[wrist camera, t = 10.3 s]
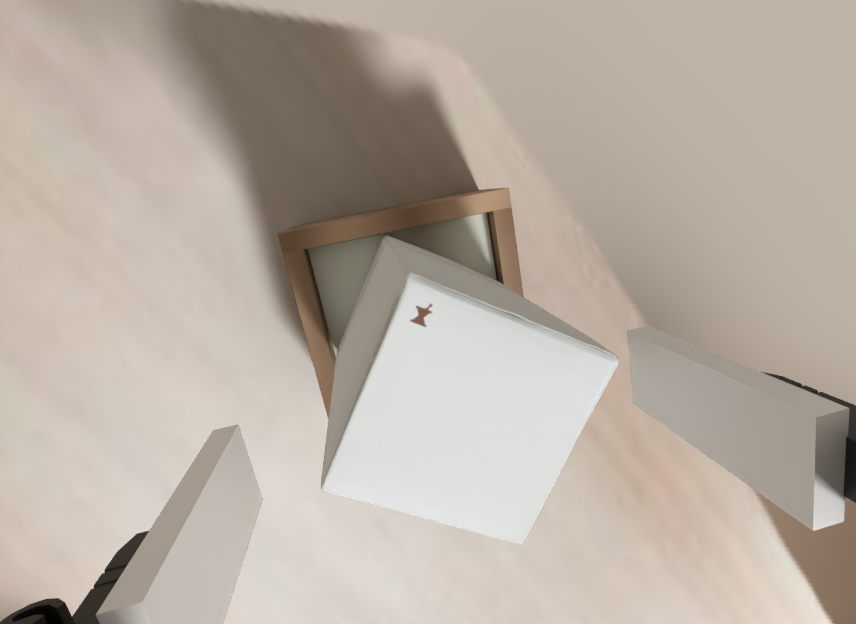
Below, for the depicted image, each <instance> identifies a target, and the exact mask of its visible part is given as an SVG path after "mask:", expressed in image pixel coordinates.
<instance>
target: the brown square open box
mask: <svg viewBox="0 0 856 624" xmlns="http://www.w3.org/2000/svg"><path fill="white" fill-rule="evenodd" d="M385 234H387V235H390V236H392V237H394V238H397V239H400V240H402V241H405V242H407V243H410V244H412V245H415V246H417V247H420V248H422V249H425V250H427V251H430V252H432V253H435V254H437V255H440V256H442V257H445V258H447V259H449V260H452V261H454V262H456V263H459V264H461V265H463V266H466V267H468V268H470V269H472V270H475V271H477V272H479V273H481V274H483V275H485V276H488V277H490V278H492V279H494V280H496V281H498V282H500V283H502V284H503V285H505V286H506V287H508V288H509V289H511V290H512V291H514V292H515V293H517V294H519V295H520V296H522V297H523V289H522V282H521V274H520V267H519V260H518V252H517V245H516V238H515V230H514V223H513V216H512V208H511V201H510V194H509V188H500V189H486V190H476V191H471V192H466V193H461V194H456V195H451V196H446V197H441V198H436V199H431V200H426V201H421V202H416V203H411V204H406V205H401V206H396V207H391V208H386V209H381V210H376V211H371V212H366V213H361V214H356V215H351V216H345V217H340V218H335V219H330V220H325V221H320V222H315V223H310V224H305V225H300V226H295V227H293V228H290V229H288V230H286V231H283V232H281V233H279V234H278V237H279V241H280V244H281V248H282V252H283V255H284V259H285V263H286V266H287V270H288V273H289V277H290V281H291V284H292V288H293V292H294V295H295V299H296V303H297V306H298V310H299V314H300V317H301V321H302V325H303V328H304V332H305V335H306V339H307V343H308V346H309V350H310V354H311V357H312V361H313V365H314V368H315V372H316V376H317V379H318V383H319V386H320V390H321V394H322V397H323V401H324V405H325V408H326V412H327V416H328V419H329V411H330V404H331V397H332V389H333V381H334V372H335V365H336V355H337V349H338V347H339V344H340V341H341V339H342V336H343V334H344V331H345V329H346V326H347V324H348V321H349V319H350V316H351V314H352V311H353V309H354V306H355V304H356V301H357V299H358V296H359V294H360V291H361V289H362V286H363V284H364V282H365V279H366V277H367V275H368V272H369V270H370V268H371V265H372V263H373V261H374V258H375V256H376V253H377V251H378V248H379V246H380V243H381V241H382V239H383V236H384V235H385Z"/></svg>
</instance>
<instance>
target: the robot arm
mask: <svg viewBox="0 0 856 624" xmlns="http://www.w3.org/2000/svg"><path fill="white" fill-rule="evenodd" d="M627 333H628V345H629V357H630V369H631V381H632V393H633V404H635V405H636V406H638V407H639V408H640V409H642V410H643V411H645V412H646V413H647V414H649V415H650V416H652V417H653V418H655V419H656V420H657V421H659V422H660V423H662V424H663V425H664V426H666V427H667V428H669V429H670V430H671V431H673V432H674V433H676V434H677V435H678V436H680V437H681V438H683V439H684V440H686V441H687V442H688V443H690V444H691V445H693V446H694V447H695V448H697V449H698V450H700V451H701V452H702V453H704V454H705V455H707V456H708V457H710V458H711V459H712V460H714V461H715V462H717V463H718V464H719V465H721V466H722V467H724V468H725V469H726V470H728V471H729V472H731V473H732V474H733V475H735V476H736V477H738V478H739V479H741V480H742V481H743V482H745V483H746V484H748V485H749V486H750V487H752V488H753V489H755V490H756V491H758V492H759V493H760V494H762V495H763V496H765V497H766V498H767V499H769V500H770V501H772V502H773V503H774V504H776V505H777V506H779V507H780V508H781V509H783V510H784V511H786V512H787V513H788V514H790V515H791V516H793V517H794V518H796V519H797V520H799V521H800V522H801V523H803V524H804V525H805V526H807V527H808V528H810V529H811V530H813V531H814V530H818V529H821V528H824V527H828V526H830V525H834V524H838V523H841V522H844V509H845V497H847V498H849V499H850V500H852V501H854V502H856V406H855V405H853V404H850V403H848V402H845V401H843V400H840V399H838V398H835V397H833V396H830V395H828V394H825V393H823V392H820V393H818V391H817V390H815V389H813V388H810V387H808V386H802V385H801V384H800V383H797V382H795V381H793V380H790V379H788V378H785V377H782V376H778V375H773V374H768V373H764V372H759V371H757V370H755V369H752V368H750V367H747V366H745V365H742V364H740V363H737V362H735V361H733V360H730V359H727V358H725V357H723V356H720V355H718V354H715V353H713V352H711V351H708V350H706V349H703V348H701V347H698V346H696V345H693V344H691V343H688V342H686V341H684V340H681V339H678V338H676V337H674V336H671V335H669V334H666V333H664V332H661V331H659V330H657V329H654V328H652V327H649V326H646V327H641V328H637V329H633V330H629V331H627ZM262 500H263V498H262V495H261V492H260V489H259V486H258V483H257V480H256V477H255V474H254V471H253V468H252V465H251V462H250V459H249V456H248V452H247V449H246V446H245V443H244V440H243V437H242V434H241V431H240V428H239V425H234V426H230V427H225V428H221V429H217V430H213V432H212V433H211V435H210V436H209V438H208V440H207V441H206V443H205V444H204V446H203V447H202V449H201V451H200V452H199V454H198V455H197V457H196V458H195V460H194V461H193V463H192V465H191V466H190V468H189V469H188V471H187V472H186V474H185V476H184V477H183V479H182V480H181V482H180V483H179V485H178V487H177V488H176V490H175V491H174V493H173V494H172V496H171V498H170V499H169V501H168V502H167V504H166V505H165V507H164V509H163V510H162V512H161V513H160V515H159V516H158V518H157V519H156V521H155V523H154V524H153V526H152V527H151V529H150V530H149V531H146V532H142V533H138V534H136V535H135V536H134V537H133V538H132V539H131V540H130V541H129V542H127V543H126V544H125V545H124V546H123V547H122V548H121V549H120V550H119V551H118V552H117V553H116V554H115V556H114V557H113V559H112V560H111V562H110V563H109V564H108V566H107V567H106V569H105V573H103V574H102V575H101V576H100V577H99V579H98V580H97V582H96V583H95V585H94V589H91V590H90V592H89V593H88V595H87V596H86V598H85V599H84V601H83V602H82V603H81V605H80V606H79V608H78V609H77V611H76V612H75V614H74V615H73V616H71V614H70V612H69V610H68V608H67V606H66V604H65V602H63V601H62V600H60V599H59V598H56V599H45V600H42V601H39V602H36V603H33V604H30V605H28V606H26V607H24V608H22V609H20V610H18V611H16V612H14V613H13V614H11V615H9V616H8V617H6V618H5V619H3V620H2V621H1V622H0V624H223V623H224V620H225V616H226V613H227V610H228V607H229V604H230V601H231V598H232V594H233V591H234V588H235V585H236V582H237V579H238V576H239V572H240V569H241V566H242V563H243V560H244V557H245V554H246V551H247V547H248V544H249V541H250V538H251V535H252V532H253V529H254V525H255V522H256V519H257V516H258V513H259V510H260V507H261V503H262Z"/></svg>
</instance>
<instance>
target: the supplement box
mask: <svg viewBox="0 0 856 624" xmlns="http://www.w3.org/2000/svg"><path fill="white" fill-rule="evenodd" d="M618 364H619V358H618V357H617V356H616V355H615V354H614V353H612V352H611V351H609V350H608V349H606V348H605V347H603V346H602V345H600V344H599V343H597V342H596V341H594V340H593V339H591V338H590V337H588V336H587V335H585V334H584V333H582V332H580V331H579V330H577V329H575V328H574V327H572V326H570V325H569V324H567V323H565V322H564V321H562V320H560V319H559V318H557V317H555V316H554V315H552V314H550V313H549V312H547V311H545V310H544V309H542V308H540V307H539V306H537V305H535V304H534V303H532V302H530V301H529V300H527V299H525V298H524V297H522V296H520V295H519V294H517V293H515V292H514V291H512V290H511V289H509V288H508V287H506V286H505V285H503V284H502V283H500V282H498V281H496V280H494V279H492V278H490V277H488V276H485V275H483V274H481V273H479V272H477V271H475V270H472V269H470V268H468V267H466V266H463V265H461V264H459V263H456V262H454V261H452V260H449V259H447V258H445V257H442V256H440V255H437V254H435V253H432V252H430V251H427V250H425V249H422V248H420V247H417V246H415V245H412V244H410V243H407V242H405V241H402V240H400V239H397V238H394V237H392V236H390V235H387V234H385V235H384V236H383V239H382V241H381V243H380V246H379V248H378V251H377V253H376V256H375V258H374V261H373V263H372V265H371V268H370V270H369V272H368V275H367V277H366V279H365V282H364V284H363V286H362V289H361V291H360V294H359V296H358V299H357V301H356V304H355V306H354V309H353V311H352V314H351V316H350V319H349V321H348V324H347V326H346V329H345V331H344V334H343V336H342V339H341V341H340V344H339V347H338V349H337V355H336V365H335V372H334V381H333V389H332V397H331V404H330V411H329V420H328V428H327V437H326V445H325V454H324V462H323V470H322V478H321V489H322V491H325V492H328V493H331V494H335V495H339V496H343V497H347V498H351V499H354V500H358V501H362V502H366V503H369V504H373V505H377V506H381V507H384V508H388V509H392V510H395V511H399V512H403V513H406V514H410V515H414V516H417V517H421V518H425V519H428V520H432V521H436V522H439V523H443V524H447V525H450V526H454V527H458V528H461V529H465V530H469V531H472V532H476V533H479V534H483V535H486V536H490V537H493V538H497V539H501V540H505V541H508V542H512V543H515V544H523V542H524V540H525V538H526V536H527V534H528V532H529V531H530V529H531V527H532V525H533V523H534V521H535V519H536V517H537V515H538V513H539V512H540V510H541V508H542V506H543V504H544V502H545V500H546V498H547V496H548V494H549V492H550V490H551V488H552V487H553V485H554V483H555V481H556V479H557V477H558V475H559V473H560V471H561V469H562V467H563V465H564V464H565V462H566V460H567V458H568V456H569V454H570V452H571V450H572V448H573V446H574V444H575V442H576V440H577V438H578V436H579V434H580V433H581V431H582V429H583V427H584V425H585V424H586V422H587V420H588V418H589V416H590V415H591V413H592V411H593V409H594V407H595V406H596V404H597V402H598V400H599V398H600V397H601V395H602V393H603V391H604V389H605V387H606V385H607V384H608V382H609V380H610V378H611V376H612V374H613V373H614V371H615V369H616V368H617V366H618Z"/></svg>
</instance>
